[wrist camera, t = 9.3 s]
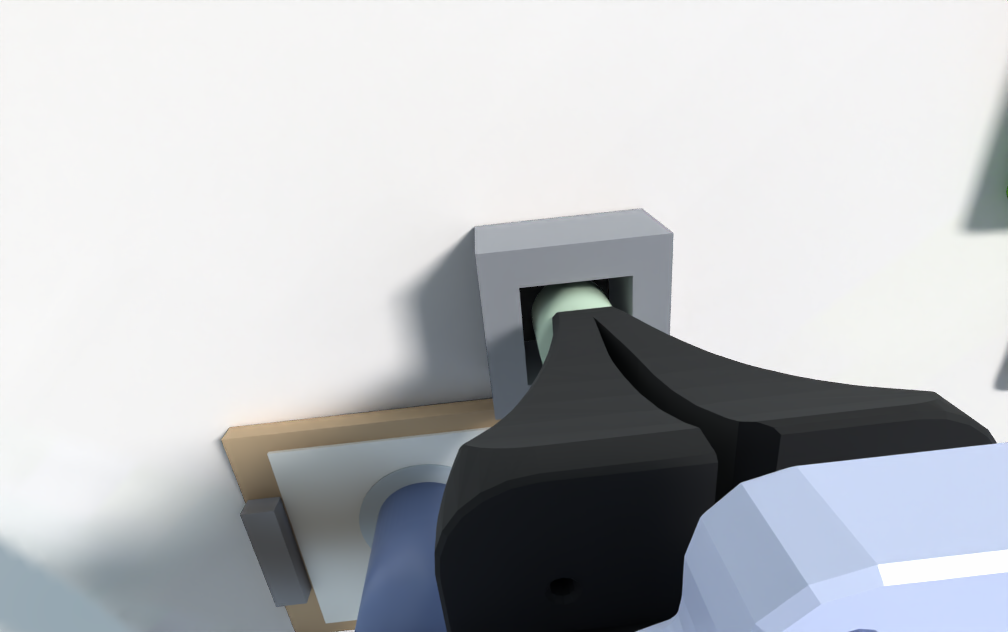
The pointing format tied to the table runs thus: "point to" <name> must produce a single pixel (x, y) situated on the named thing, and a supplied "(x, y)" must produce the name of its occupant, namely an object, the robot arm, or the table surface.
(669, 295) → the button housing
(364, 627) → the blue small bottle
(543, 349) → the button
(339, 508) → the clipboard
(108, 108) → the table surface
